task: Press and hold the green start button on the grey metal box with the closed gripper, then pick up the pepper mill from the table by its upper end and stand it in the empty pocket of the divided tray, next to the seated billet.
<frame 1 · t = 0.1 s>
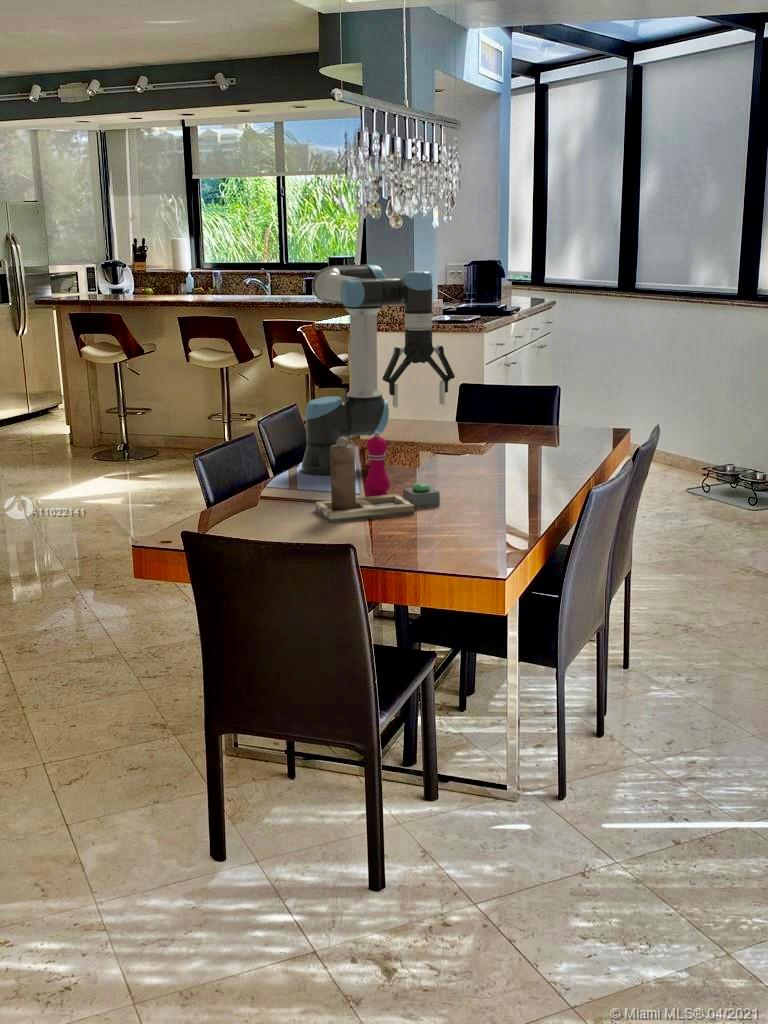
hand: (418, 405, 297), 28 cm above the table, fingers open, 13 cm apart
divided tray: (364, 512, 293), on the table
pepper mill: (377, 500, 307), on the table
start button: (421, 491, 301), point 4 cm above the table, slide at 0.0 cm
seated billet: (343, 514, 292), resting on divided tray
button box: (421, 503, 302), on the table
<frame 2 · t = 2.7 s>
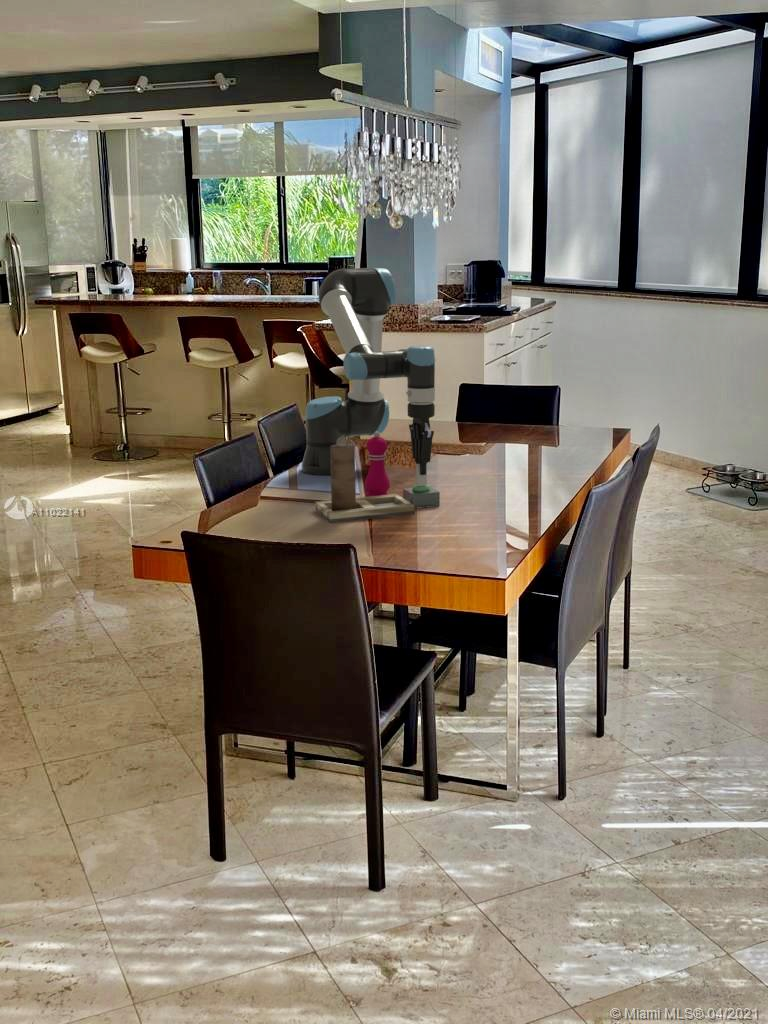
hand: (421, 485, 300), 5 cm above the table, fingers closed
start button: (421, 492, 301), point 3 cm above the table, slide at -0.3 cm, touching button box, gripper
everything else where it was.
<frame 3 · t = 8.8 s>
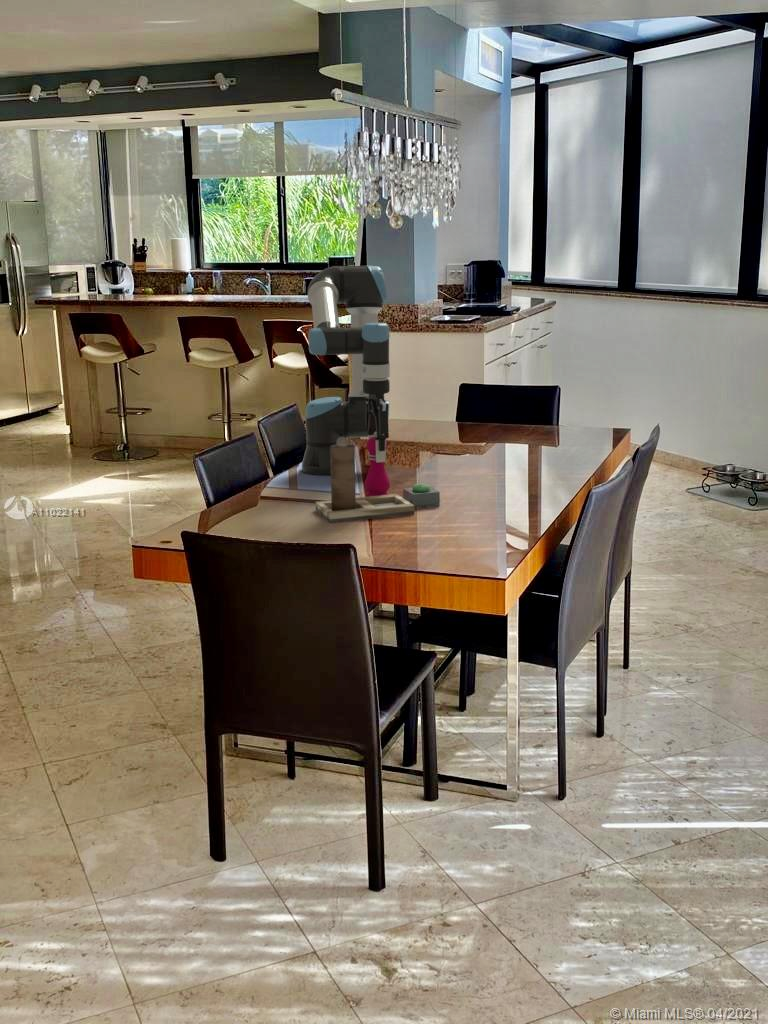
hand: (377, 459, 304), 12 cm above the table, fingers closed on pepper mill, 6 cm apart
pepper mill: (377, 500, 307), on the table, touching gripper
start button: (421, 492, 301), point 3 cm above the table, slide at -0.2 cm
when the fingers open (14 cm above the table, at t = 13.6 s): pepper mill drops 1 cm, resting on divided tray.
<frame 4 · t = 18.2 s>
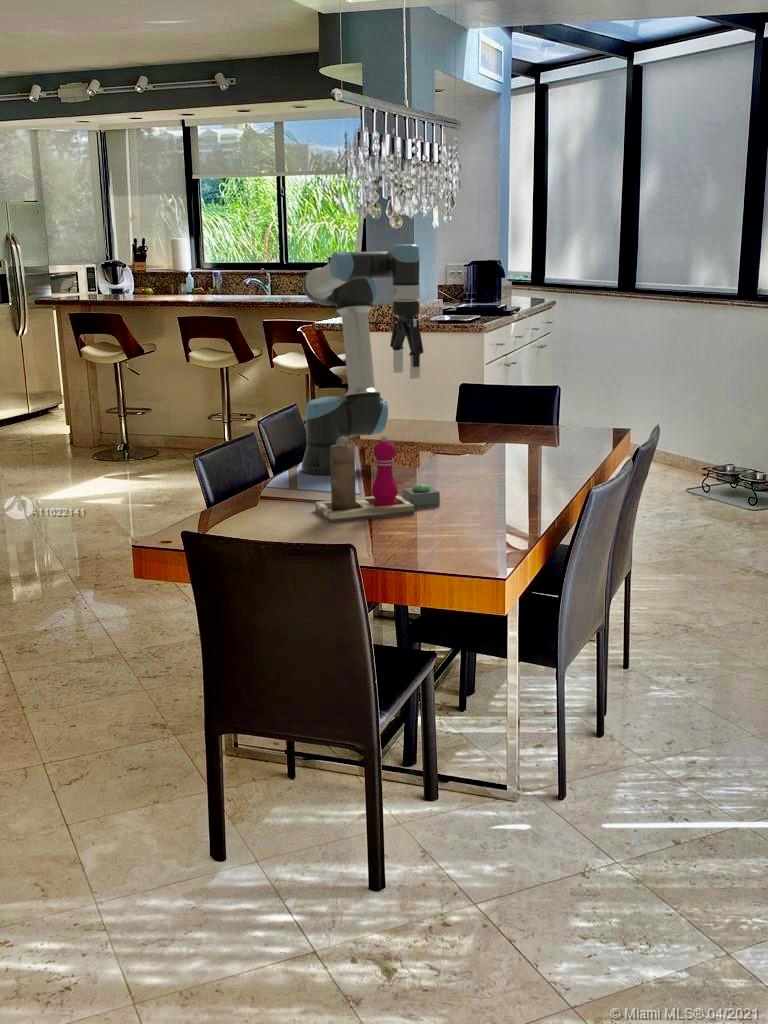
hand: (406, 375, 306), 35 cm above the table, fingers open, 13 cm apart
pepper mill: (384, 507, 295), point 1 cm above the table, touching divided tray
everything else where it was.
at the end: pepper mill 0.1 cm from the target spot on the divided tray, point 0.8 cm above the divided tray's base; pepper mill tilted 0°; the gripper is holding nothing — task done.
